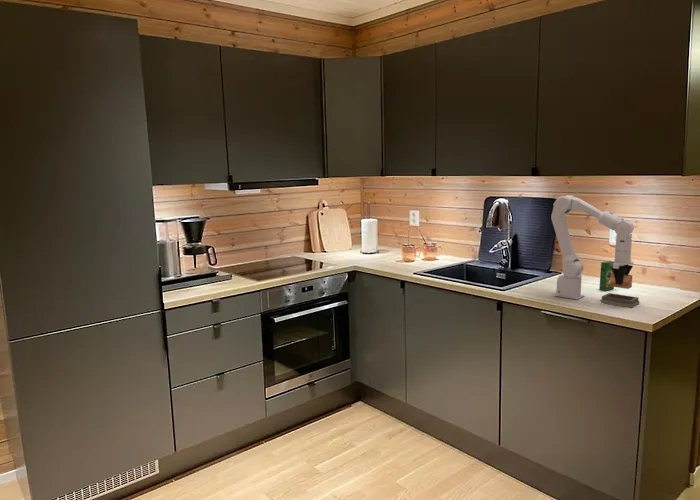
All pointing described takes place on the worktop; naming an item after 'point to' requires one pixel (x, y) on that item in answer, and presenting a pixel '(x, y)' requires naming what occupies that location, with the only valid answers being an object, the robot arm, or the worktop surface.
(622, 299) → the nest plate
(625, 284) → the terracotta bar
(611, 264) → the coffee box
